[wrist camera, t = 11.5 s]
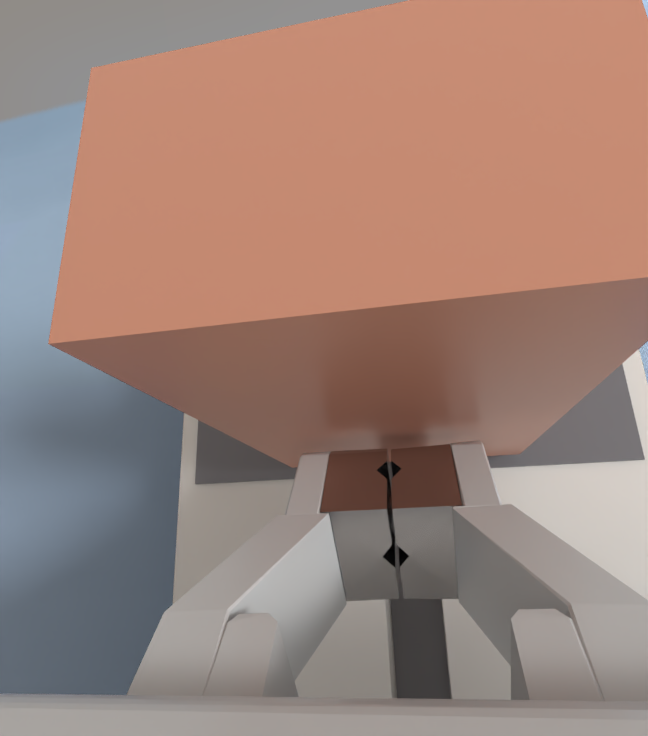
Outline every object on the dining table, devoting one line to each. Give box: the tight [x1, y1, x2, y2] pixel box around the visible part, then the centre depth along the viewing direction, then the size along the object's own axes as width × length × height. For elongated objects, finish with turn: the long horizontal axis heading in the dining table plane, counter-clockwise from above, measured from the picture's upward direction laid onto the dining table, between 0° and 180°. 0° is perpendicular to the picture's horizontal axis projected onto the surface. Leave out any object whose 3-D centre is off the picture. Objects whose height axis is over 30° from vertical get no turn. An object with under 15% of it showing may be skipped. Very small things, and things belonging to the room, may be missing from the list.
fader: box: [48, 0, 648, 468], centre depth 9 cm, size 5×3×10 cm, turn 92°
